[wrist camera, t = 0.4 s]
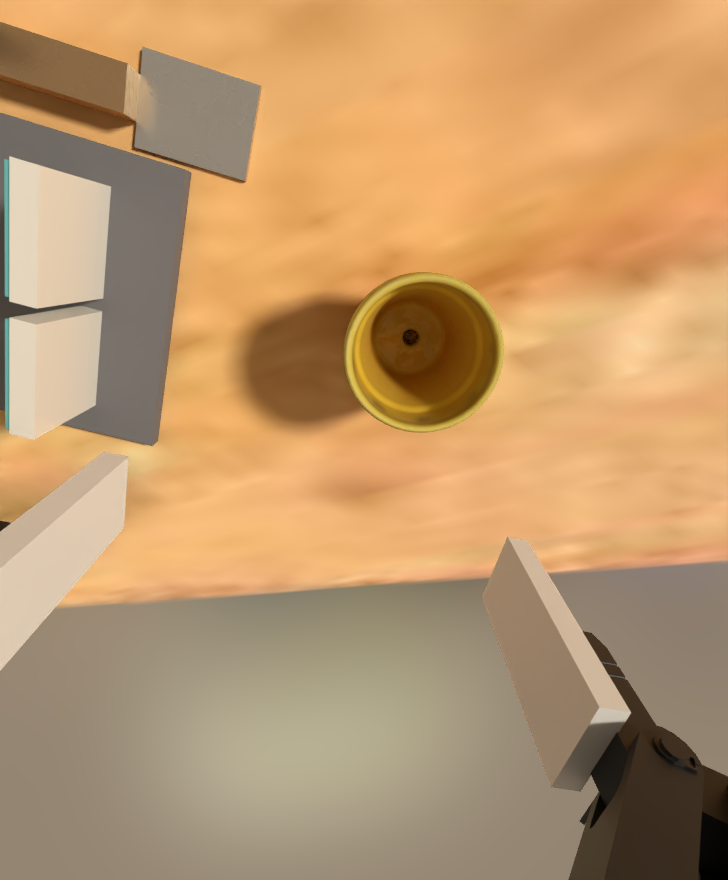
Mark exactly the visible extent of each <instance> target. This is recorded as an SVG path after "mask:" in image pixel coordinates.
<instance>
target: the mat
mask: <svg viewBox="0 0 728 880" xmlns="http://www.w3.org/2000/svg"><path fill="white" fill-rule="evenodd" d="M9 156H10V157H14V158H17V159H20V160H24V161H27V162H30V163H34V164H37V165H40V166H44V167H47V168H50V169H54V170H57V171H60V172H64V173H67V174H71V175H74V176H77V177H81V178H84V179H87V180H91V181H94V182H97V183H101V184H104V185H107V186H111V195H110V209H109V223H108V237H107V251H106V265H105V279H104V294H103V299H97V300H90V301H83V302H77V303H70V304H64V305H57V306H51V307H44V308H37V309H36V308H32V307H28V306H25V305H21V304H17V303H13V302H10V301H9V297H6V296H5V203H4V159H7V160H9ZM190 180H191V172H189V171H187V170H185V169H181V168H178V167H175V166H172V165H168V164H165V163H162V162H159V161H155V160H152V159H149V158H146V157H142V156H139V155H136V154H133V153H129V152H126V151H123V150H120V149H117V148H113V147H110V146H107V145H104V144H100V143H97V142H94V141H91V140H87V139H84V138H81V137H78V136H74V135H71V134H68V133H65V132H61V131H58V130H55V129H52V128H48V127H45V126H42V125H39V124H35V123H32V122H29V121H26V120H22V119H19V118H16V117H13V116H10V115H6V114H3V113H0V410H4V411H5V319H6V318H10V317H16V316H22V315H28V314H34V313H40V312H46V311H52V310H58V309H64V308H70V307H76V306H85V307H88V308H92V309H96V310H99V311H102V322H101V336H100V350H99V364H98V378H97V393H96V405H95V406H93V407H92V408H90V409H88V410H86V411H84V412H83V413H81V414H79V415H77V416H75V417H74V418H72V419H70V420H68V421H66V422H65V423H63V425H67V426H71V427H75V428H79V429H84V430H88V431H92V432H96V433H100V434H104V435H109V436H113V437H117V438H121V439H125V440H129V441H134V442H138V443H142V444H146V445H150V446H153V445H154V444H155V443H156V442H157V441H158V435H159V427H160V419H161V411H162V403H163V395H164V387H165V379H166V371H167V363H168V355H169V347H170V339H171V331H172V323H173V315H174V307H175V299H176V291H177V283H178V275H179V267H180V259H181V251H182V243H183V235H184V227H185V220H186V212H187V204H188V196H189V188H190Z"/></svg>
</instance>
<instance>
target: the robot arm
mask: <svg viewBox="0 0 728 880" xmlns="http://www.w3.org/2000/svg"><path fill="white" fill-rule="evenodd" d="M128 459H129V457H127V456H122V455H118V454H113V453H108V452H103V453H102V454H101V455H100V456H98V457H97V458H96V459H94V460H93V461H92V462H90V463H89V464H88V465H87V466H85V467H84V468H83V469H81V470H80V471H79V472H77V473H76V474H75V475H73V476H72V477H71V478H70V479H68V480H67V481H66V482H64V483H63V484H62V485H60V486H59V487H58V488H56V489H55V490H54V491H53V492H51V493H50V494H49V495H47V496H46V497H45V498H43V499H42V500H41V501H40V502H38V503H37V504H36V505H34V506H33V507H32V508H30V509H29V510H28V511H26V512H25V513H24V514H23V515H21V516H20V517H19V518H17V519H16V520H15V521H13V522H12V523H9V522H4V521H0V670H1V669H2V668H3V667H4V666H5V665H6V663H7V662H8V661H9V660H10V659H11V657H12V656H13V655H14V654H15V653H16V652H17V651H18V649H19V648H20V647H21V646H22V645H23V644H24V643H25V641H26V640H27V639H28V638H29V637H30V636H31V634H32V633H33V632H34V631H35V630H36V629H37V628H38V626H39V625H40V624H41V623H42V622H43V620H44V619H45V618H46V617H47V616H48V615H49V614H50V613H51V611H52V610H53V609H54V608H55V607H56V606H57V605H58V603H59V602H60V601H61V600H62V599H63V598H64V596H65V595H66V594H67V593H68V592H69V591H70V589H71V588H72V587H73V586H74V585H75V584H76V583H77V581H78V580H79V579H80V578H81V577H82V576H83V574H84V573H85V572H86V571H87V570H88V569H89V568H90V566H91V565H92V564H93V563H94V562H95V561H96V559H97V558H98V557H99V556H100V555H101V554H102V553H103V551H104V550H105V549H106V548H107V547H108V546H109V544H110V543H111V542H112V541H113V540H114V539H115V537H116V536H117V535H118V534H119V533H120V532H121V531H122V529H123V528H124V520H125V505H126V489H127V474H128ZM482 599H483V602H484V604H485V607H486V610H487V613H488V616H489V618H490V621H491V624H492V627H493V629H494V632H495V635H496V637H497V640H498V643H499V646H500V649H501V651H502V654H503V657H504V659H505V662H506V665H507V668H508V670H509V673H510V676H511V679H512V681H513V684H514V687H515V689H516V692H517V695H518V698H519V700H520V703H521V706H522V709H523V711H524V714H525V717H526V720H527V722H528V725H529V728H530V730H531V733H532V736H533V739H534V741H535V744H536V747H537V749H538V752H539V755H540V758H541V761H542V763H543V766H544V769H545V771H546V774H547V777H548V780H549V782H550V785H551V787H555V788H562V789H568V790H574V791H581V790H582V788H583V787H584V785H585V784H586V782H587V781H588V779H589V777H590V776H591V775H592V777H593V780H594V782H595V784H596V786H597V788H598V791H599V793H598V794H597V796H596V797H595V799H594V800H593V802H592V803H591V805H590V806H589V808H588V809H587V811H586V812H585V814H584V815H583V817H582V818H581V820H580V822H581V823H582V824H585V823H586V825H585V828H584V831H583V835H582V838H581V841H580V844H579V847H578V851H577V854H576V857H575V861H574V864H573V867H572V870H571V873H570V877H569V880H728V777H727V776H725V775H723V774H721V773H718V772H716V771H714V770H712V769H710V768H708V767H706V766H703V765H702V764H701V763H700V761H699V759H698V757H697V756H696V754H695V753H694V752H693V751H692V750H691V749H690V747H689V746H687V744H686V743H685V742H684V741H682V740H681V739H680V738H679V737H677V736H676V735H675V734H673V733H672V732H670V731H668V730H666V729H664V728H663V727H659V726H656V724H655V723H654V721H653V720H652V718H651V717H650V715H649V713H648V712H647V710H646V709H645V707H644V706H643V704H642V702H641V701H640V699H639V698H638V696H637V695H636V693H635V691H634V690H633V688H632V687H631V685H630V684H629V682H628V681H627V680H625V676H624V674H623V673H622V671H621V669H620V668H619V667H617V663H616V662H615V660H614V659H613V657H612V656H611V654H610V653H609V651H608V649H607V648H606V647H605V646H604V645H603V644H602V643H601V642H600V641H599V640H598V639H597V638H596V637H595V636H594V635H593V634H592V633H589V632H584V631H582V630H581V628H580V627H579V625H578V623H577V622H576V620H575V618H574V617H573V615H572V613H571V612H570V610H569V609H568V607H567V605H566V604H565V602H564V600H563V598H562V597H561V595H560V593H559V592H558V590H557V588H556V587H555V585H554V584H553V582H552V580H551V578H550V577H549V575H548V573H547V572H546V570H545V568H544V567H543V565H542V564H541V562H540V560H539V559H538V557H537V555H536V554H535V552H534V550H533V549H532V547H531V545H530V544H529V542H528V541H526V540H521V539H516V538H512V537H507V539H506V542H505V544H504V547H503V549H502V551H501V554H500V556H499V558H498V561H497V563H496V565H495V568H494V570H493V572H492V575H491V577H490V580H489V582H488V584H487V587H486V589H485V591H484V594H483V596H482Z"/></svg>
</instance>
